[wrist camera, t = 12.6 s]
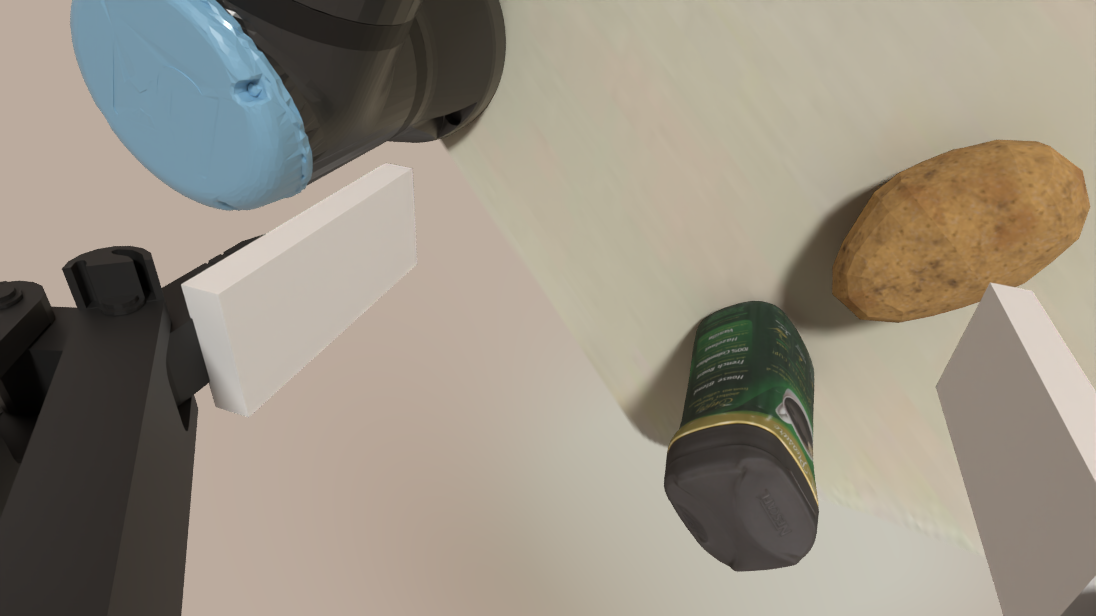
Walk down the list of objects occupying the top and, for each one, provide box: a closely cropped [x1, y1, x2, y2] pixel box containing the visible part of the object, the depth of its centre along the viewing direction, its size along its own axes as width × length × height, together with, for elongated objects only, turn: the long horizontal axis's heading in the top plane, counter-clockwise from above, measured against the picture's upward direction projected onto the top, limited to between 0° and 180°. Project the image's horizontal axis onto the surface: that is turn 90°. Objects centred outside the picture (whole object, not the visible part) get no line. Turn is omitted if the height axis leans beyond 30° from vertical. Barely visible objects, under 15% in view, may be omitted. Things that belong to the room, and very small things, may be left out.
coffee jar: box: [664, 301, 819, 571], centre depth 44 cm, size 10×8×19 cm
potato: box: [832, 140, 1090, 323], centre depth 39 cm, size 10×14×8 cm
